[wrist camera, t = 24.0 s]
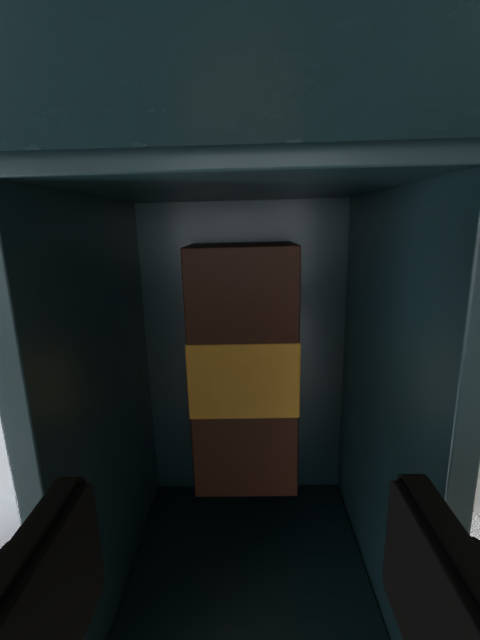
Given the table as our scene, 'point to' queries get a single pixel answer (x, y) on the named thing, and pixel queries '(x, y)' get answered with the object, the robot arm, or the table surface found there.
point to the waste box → (171, 380)
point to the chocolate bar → (243, 366)
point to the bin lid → (236, 72)
